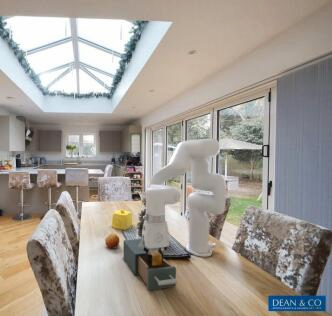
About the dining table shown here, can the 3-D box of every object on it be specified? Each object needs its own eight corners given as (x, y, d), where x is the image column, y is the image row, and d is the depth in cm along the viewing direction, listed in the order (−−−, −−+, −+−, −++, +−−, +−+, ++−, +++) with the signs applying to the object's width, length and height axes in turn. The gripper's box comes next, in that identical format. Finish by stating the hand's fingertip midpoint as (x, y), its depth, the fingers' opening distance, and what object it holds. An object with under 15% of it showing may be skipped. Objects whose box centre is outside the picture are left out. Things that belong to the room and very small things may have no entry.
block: (156, 259, 87) (156, 250, 86) (161, 264, 83) (161, 254, 83) (148, 260, 86) (148, 251, 86) (152, 265, 82) (152, 255, 82)
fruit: (122, 248, 110) (114, 234, 111) (109, 254, 112) (102, 241, 112) (123, 241, 118) (116, 229, 119) (111, 247, 119) (104, 235, 120)
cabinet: (161, 272, 90) (162, 251, 90) (134, 275, 88) (135, 254, 88) (146, 256, 105) (147, 238, 105) (123, 258, 102) (123, 240, 102)
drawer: (182, 293, 75) (183, 274, 75) (153, 297, 73) (154, 277, 73) (158, 267, 92) (158, 251, 92) (134, 270, 90) (134, 253, 90)
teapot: (124, 232, 136) (124, 214, 136) (107, 229, 142) (108, 212, 142) (134, 223, 153) (134, 208, 153) (119, 221, 160) (119, 206, 159)
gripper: (139, 222, 78) (139, 269, 79) (179, 219, 82) (178, 265, 82) (132, 216, 86) (132, 259, 86) (168, 214, 89) (168, 255, 90)
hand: (154, 261), depth 84 cm, fingers closed on block, 4 cm apart
